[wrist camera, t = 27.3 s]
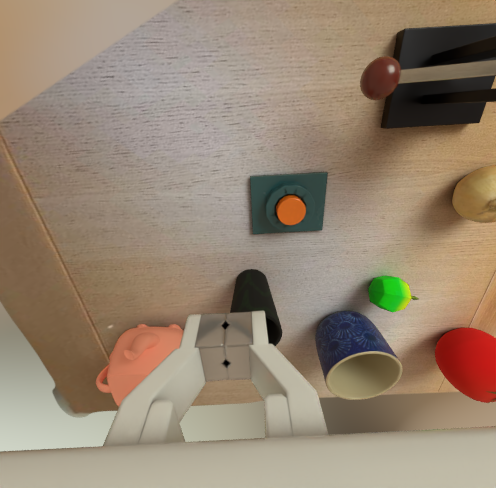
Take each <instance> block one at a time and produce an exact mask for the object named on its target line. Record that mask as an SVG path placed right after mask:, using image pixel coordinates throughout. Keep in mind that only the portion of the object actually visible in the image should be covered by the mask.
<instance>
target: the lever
mask: <svg viewBox="0 0 496 488" xmlns="http://www.w3.org/2000/svg"><path fill="white" fill-rule="evenodd" d="M489 76H496V60H490V61H480V62H471V63H461V64H452V65H442V66H433V67H424V68H414V69H405V70H401V66H400V64H399V62H398V61H397V60H396V59H394V58H392V57H388V56H384V57H380V58H377V59H375V60H374V61H372V62H371V63H370V64H369V65H368V66H367V67H366V68H365V70H364V72H363V74H362V76H361V81H360V87H361V91H362V93H363V94H364V95H365V96H366V97H367V98H369V99H371V100H380V99H383V98H386V97H387V96H389V95H390V94H391V93H393V91H394V90H395V89H396V88H397V86H398V84H407V83H419V82H430V81H442V80H454V79H466V78H477V77H489Z"/></svg>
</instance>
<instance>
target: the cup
mask: <svg viewBox="0 0 496 488" xmlns="http://www.w3.org/2000/svg"><path fill="white" fill-rule="evenodd" d="M252 311H264V312H265V317H266V326H267V334H268V343H269V344H273V345H274V346H276V345H277V344H278V343H279V341H280V339H281V337H282V328H281V325H280V322H279V318H278V315H277V312H276V308H275V305H274V302H273V299H272V295H271V292H270V289H269V285H268V282H267V279H266V277H265V275H264V274H263V273H262V272H260V271H258V270H253V269H251V270H246V271H243V272H242V273H240V274H239V275H238V277H237V279H236V284H235V289H234V295H233V300H232V305H231V311H230V313H236V312H251V314H252Z"/></svg>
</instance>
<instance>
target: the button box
mask: <svg viewBox="0 0 496 488" xmlns="http://www.w3.org/2000/svg"><path fill="white" fill-rule="evenodd" d="M327 174H328V173H327V172H314V173H297V174H280V175H262V176H250V185H251V206H252V227H253V234H264V233H282V232H300V231H318V230H322V226H323V216H324V205H325V195H326V184H327ZM288 195H294V196H297V197H299V198H300V199H301V200H302V202H303V203H304V205H305V208H306V213H305V216H304V218H303V219H302V220H301V221H300V222H299V223H297V224H295V225H286V224H284V223H282V222H281V221H280V220H279V218H278V215H277V212H276V206H277V204H278V202H279V201H280V200H281V199H282V198H283V197H285V196H288Z"/></svg>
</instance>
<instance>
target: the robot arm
mask: <svg viewBox="0 0 496 488" xmlns="http://www.w3.org/2000/svg"><path fill="white" fill-rule="evenodd" d="M241 379H251V381H252V382H253V384H254V386H255V387H256V389H257V390H258V392H259V394H260V395H261V397H262V398H263V400H264V403H265V404H264V406H265V438H256V439H238V440H237V439H236V440H219V441H199V442H185V439H184V436H183V433H182V430H181V427H180V424H179V423H180V421H181V420H182V418H183V416H184V415H185V413H186V412H187V411H188V409H189V407H190V406H191V405H192V403H193V402H194V400H195V399H196V397H197V396H198V394H199V393H200V391H201V390H202V388H203V387H204V385H205V384H206V382H207V381H219V380H241ZM0 488H496V426H492V427H472V428H453V429H433V430H413V431H395V432H375V433H356V434H355V433H354V434H335V435H328V431H327V428H326V424H325V420H324V417H323V413H322V409H321V405H320V402H319V398H318V394H317V391H316V390H315V389H314V388H313V387H312V385H311V384H310V383H309V382H308V381H307V380H306V379H305V378H304V377H303V376H302V375H301V374H300V373H299V372H298V370H297V369H296V368H295V367H294V366H293V365H292V364H291V363H290V362H289V361H288V360H287V359H286V358H285V357H284V356H283V354H282V353H281V352H280V351H279V350H278V349H277V348H276V347H275V346H274V345H273V344H269V343H268V334H267V326H266V317H265V312H264V311H252V314H251V312H236V313H216V314H189V316H188V317H187V321H186V324H185V328H184V332H183V336H182V339H181V343H180V347H179V349H174V350H173V351H172V352H171V353H170V354H169V355H168V356H167V357H166V358H165V359H164V360H163V361H162V362H161V363H160V364H159V365H158V366H157V367H156V368H155V369H154V370H153V371H152V372H151V373H150V374H149V375H148V376H147V377H146V378H145V379H144V380H143V381H142V382H141V383H139V384H138V385H137V386H136V387H135V388H134V389H133V390H132V391H131V392H130V393H129V394H128V395H127V396H126V397H125V398H124V399H123V400H122V402H121V404H120V406H119V409H118V411H117V414H116V416H115V418H114V421H113V423H112V425H111V428H110V430H109V433H108V435H107V437H106V440H105V442H104V445H103V446H102V447H81V448H62V449H42V450H24V451H3V452H0Z"/></svg>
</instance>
